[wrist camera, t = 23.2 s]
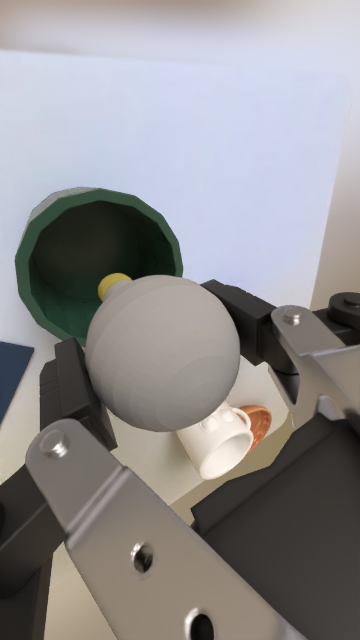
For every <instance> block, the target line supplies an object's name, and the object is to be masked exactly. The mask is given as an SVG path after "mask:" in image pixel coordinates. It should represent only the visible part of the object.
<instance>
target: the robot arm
mask: <svg viewBox="0 0 360 640" xmlns="http://www.w3.org/2000/svg"><path fill="white" fill-rule="evenodd" d="M200 286H202V287H203V288H205V289H206V290H208V291H209V292H211V293H212V294H213V295H215V296H216V297H217V298H218V299H219V300H220V301H221V302H222V304H223V305H224V307H225V308H226V310H227V311H228V313H229V315H230V316H231V318H232V320H233V322H234V324H235V327H236V330H237V333H238V337H239V342H240V354H241V355H242V356H243V357H244V358H246V359H247V360H248V361H249V362H250V363H252V364H253V365H254V366H257V365H259V364H260V363H262V362H264V361H265V362H267V363H268V372H269V374H270V376H271V378H272V379H273V381H274V383H275V385H276V387H277V389H278V391H279V392H280V394H281V396H282V398H283V400H284V402H285V404H286V406H287V407H288V409H289V411H290V414H291V417H292V422H293V427H294V432H293V433H292V435H291V436H290V438H289V439H288V441H287V442H286V444H285V445H284V447H283V448H282V450H281V451H280V453H279V454H278V456H277V457H276V459H275V460H274V462H273V463H272V464H271V465H270V466H268V467H266V468H263V469H260V470H257V471H254V472H252V473H249V474H246V475H243V476H240V477H237V478H234V479H232V480H229V481H227V482H226V483H224V484H223V485H221V486H220V487H219V488H217V489H216V490H215V491H213V492H212V493H211V494H209V495H208V496H207V497H205V498H204V499H203V500H201V501H200V502H199V503H197V504H196V505H194V506H193V507H192V508H191V512H192V514H193V516H194V519H195V520H194V522H193V523H192V524H191V526H189V525H188V524H186V523H185V522H184V521H183V520H182V519H181V518H180V517H179V516H178V515H177V514H176V513H175V512H174V511H173V510H172V509H171V508H170V507H169V506H168V505H167V504H166V503H165V502H164V501H163V500H162V499H161V498H160V497H159V496H158V495H157V494H156V493H155V492H154V491H153V490H152V489H151V488H150V487H149V486H148V485H147V484H146V483H145V482H144V481H143V480H142V479H141V478H139V477H138V476H137V475H136V474H135V473H134V472H133V471H132V470H131V469H130V468H128V467H127V466H123V465H122V464H121V463H120V462H119V461H118V460H117V459H116V458H115V457H114V456H113V455H112V454H111V453H110V451H111V450H113V449H115V448H117V447H118V445H117V442H116V439H115V436H114V432H113V429H112V426H111V422H110V419H109V416H108V413H107V409H106V406H105V405H104V404H103V403H102V402H101V401H100V399H99V398H98V397H97V395H96V393H95V392H94V389H93V387H92V384H91V381H90V378H89V375H88V372H87V368H86V363H85V353H84V351H83V350H82V348H81V346H80V344H79V342H78V341H77V339H76V338H75V337H72V338H70V339H68V340H65V341H63V342H60V343H58V344H56V345H55V356H56V359H54V360H52V361H50V362H47V363H45V365H44V367H43V369H42V371H41V373H40V396H41V397H40V433H39V434H38V435H37V436H36V437H35V438H34V440H33V441H32V443H31V444H30V446H29V448H28V451H27V454H26V458H25V464H24V465H23V466H22V467H21V468H20V469H19V470H18V471H17V472H16V473H14V474H13V475H12V476H11V477H10V478H9V479H7V480H6V481H5V482H4V483H3V484H1V485H0V640H44V631H45V622H46V612H47V604H48V594H49V586H50V577H51V568H52V559H53V552H54V551H55V550H56V549H57V548H58V547H59V546H60V544H61V543H62V542H63V541H64V544H65V547H66V550H67V552H68V554H69V556H70V558H71V560H72V561H73V563H74V565H75V567H76V568H77V570H78V572H79V573H80V575H81V577H82V579H83V581H84V582H85V584H86V586H87V587H88V589H89V591H90V593H91V594H92V596H93V598H94V600H95V601H96V603H97V605H98V607H99V608H100V610H101V612H102V614H103V615H104V617H105V619H106V620H107V622H108V624H109V626H110V627H111V629H112V631H113V633H114V634H115V636H116V638H117V640H360V294H359V293H353V292H344V293H338V294H335V295H333V296H332V297H331V298H330V301H329V305H328V308H326V309H321V310H317V311H312V312H311V311H310V310H308V309H306V308H304V307H301V306H295V305H286V306H281V307H278V308H277V307H275V306H273V305H271V304H269V303H268V302H266V301H264V300H262V299H260V298H258V297H256V296H253V295H252V294H250V293H248V292H247V293H246V291H244V290H242V289H240V288H238V287H235V286H230V285H224V284H222V283H220V282H218V281H216V280H214V279H212V280H210V281H207V282H205V283H203V284H200Z"/></svg>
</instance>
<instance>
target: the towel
mask: <svg viewBox="0 0 360 640" xmlns="http://www.w3.org/2000/svg"><path fill="white" fill-rule="evenodd" d="M33 351H34V348H31V347H26V346H21V345H15V344H10V343H5V342H0V424H1V422H2V419H3V417H4V415H5V413H6V410H7V408H8V406H9V404H10V402H11V399H12V397H13V395H14V393H15V391H16V388H17V386H18V384H19V382H20V379H21V377H22V375H23V373H24V371H25V368H26V366H27V364H28V362H29V359H30V357H31V355H32V353H33Z"/></svg>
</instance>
